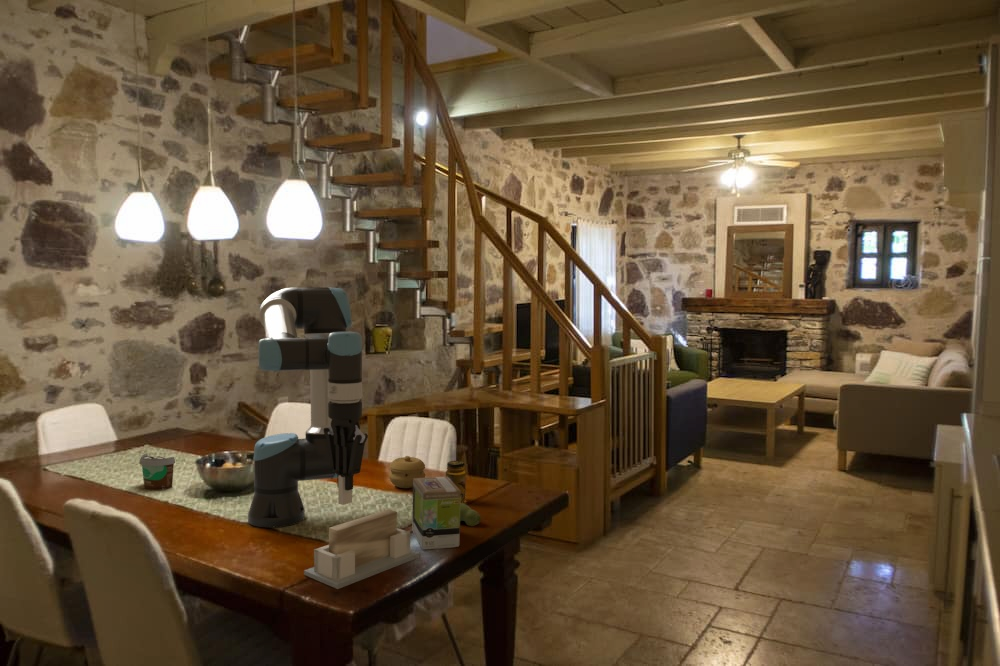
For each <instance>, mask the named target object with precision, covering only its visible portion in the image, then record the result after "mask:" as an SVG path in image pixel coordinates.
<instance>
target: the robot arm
mask: <svg viewBox="0 0 1000 666" xmlns="http://www.w3.org/2000/svg"><path fill="white" fill-rule="evenodd" d="M351 312H352V310H351V305H350V300H349V297H348V293H347V291H346V290H344V289H343V288H341V287H330V286H328V287H326V286H325V287H297V286H291V287H285V288H282V289H280V290H279V289H278V290H277V291H274V292H273V293H271V294H270V295H269V296H268V297H266V299H265V300H263V302H262V303H261V305H260V307H259V313H258V315H259V316H258V317H259V321H260V323H261V325H262V327H263V328H264V338H261V339H259V341H258V368H259V369H260V370H261V371H263V372H264V371H265V372H268V371H269V372H271V371H273V372H280V371H281V372H285V371H287V372H288V371H289V372H290V371H305V370H306V371H309V373H310V374H309V375H310V376H309V381H310V385H309V386H310V425H309V428H307V430H306V431H305V438H299V436H298V434H297V433H294V432H290V433H288V432H287V433H286V432H283V433H276V434H273V435H268V436H266V437H263V438H261V439H258V441H257V442H256V443H255V445H254V450H253V458H252V459H253V461H254V464H253V465H254V467H253V469H254V470H253V471H254V473H253V474H254V477H253V478H254V480H253V481H254V484H253V486H254V492H253V496H252V500H251V503H250V506H249V511H248V512H247V513H248V514H247V522H248V524H249V525H251V526H254V527H257V528H268V529H269V528H271V529H272V528H282V527H287V526H292V525H295V524H298V523H301V522H302V521H304V519H305V516H306V515H305V511H306V510H305V507H304V503H303V501H302V498H301V495H300V492H299V482H302V481H312V480H313V481H315V480H317V481H318V480H326V479H330V480H333V479H337V488H338V489H337V490H338V492H337V493H338V494H337V495H338V496H337V497H338V503H337V504H339V505H342V506H344V505H348V504H351V503H353V489H354V475H357V474H360V473H361V468H362V461H363V455H364V452H365V444H366V441H367V440H368V436H369V435H368V434H367V433H363V432H362V430H361V425H360V422H359V420H360V418H361V417H362V416H363V402H362V401H361V400H362V398H363V378H362V375H363V350H364V347H363V346H364V345H363V338H362V334H361V333H359V332H357V331H347V330H348V329H350V328H351V327H352V313H351ZM297 329H298V330H299V329H301V330H303V336H304V337H298V334H297Z"/></svg>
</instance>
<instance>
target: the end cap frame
mask: <svg viewBox="0 0 1000 666" xmlns="http://www.w3.org/2000/svg"><path fill="white" fill-rule="evenodd" d="M411 535H412V534H411V531H408V530H404V529H401V528H398V527H397V534H396V535H393V536H390V555H388V556H385V557H383V558H380V559H377V560H375V561H372V562H369V563H366V564H364V565H361V566H358V567H356V568H355V552H354V551H352V550H350V551H347V552H344V553H341V554H338V555H335V554H332V553H330V552H329V544H327V545H324V546H320V547H318V548H315V549H313V566H312V567H309V568H308V569H304V570H303V575H304V576H306V577H308V578H310V579H313V580H314V581H318V582H320V583H323V584H324V585H327V586H329V587H332V588H334V589H336V590H339V589H342V588H345V587H347V586H349V585H352V584H354V583H357V582H360V581H363V580H365V579H367V578H370V577H372V576H373V577H374V576H375V575H377V574H378V575H379V574H380V573H383V572H385V571H387V570H390V569H393V568H395V567H398V566H400V565H403V564H406V563H408V562H411V561H414V560H416V559H418V558H421V553H420V552H419V551H416V550H413V549H411V537H412V536H411Z"/></svg>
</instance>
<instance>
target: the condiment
mask: <svg viewBox="0 0 1000 666" xmlns="http://www.w3.org/2000/svg"><path fill="white" fill-rule="evenodd" d="M445 477H449V478H450V479H451V481H452V482H453V483H454V484H455V485H456V486H457V487H458V488H459V490H460V491H461V500H460V503H462V502H464V501H465V499H466V479H467V477H466V470H465V462H464V461H462V460H449V461H448V462H447V464H446V471H445Z"/></svg>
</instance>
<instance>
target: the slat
mask: <svg viewBox="0 0 1000 666" xmlns="http://www.w3.org/2000/svg"><path fill="white" fill-rule="evenodd" d="M397 528H398V512H397V511H395V510H392V509H389V508H388V509H385V510H382V511H380V512H376V513H373V514H369V515H365V516H362V517H360V518H357V519H353V520H349V521H346V522H344V523H343V522H342V523H340V524H336V525H332V526H331V527H328V545H329V552H330V553H332V554H335V555H338V554H341V553H344V552H347V551H350V550H352V551H354V552H355V568H356V567H358V566H361V565H364V564H366V563H369V562H372V561H375V560H377V559H380V558H383V557H385V556H388V555H390V536H393V535H396V534H397Z"/></svg>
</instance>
